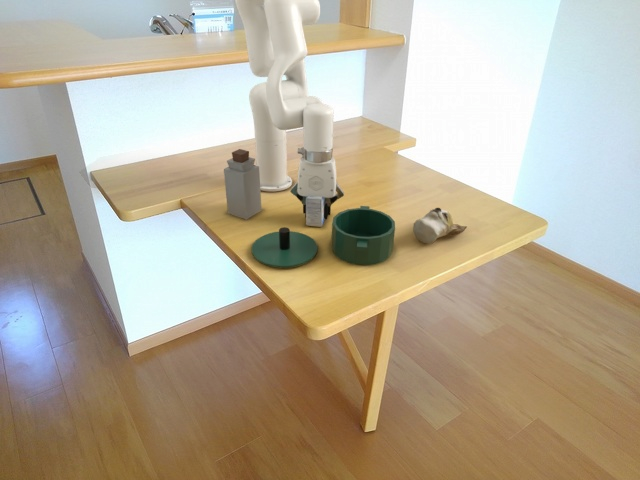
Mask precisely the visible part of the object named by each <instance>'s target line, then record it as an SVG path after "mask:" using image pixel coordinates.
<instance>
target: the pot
mask: <svg viewBox="0 0 640 480" xmlns="http://www.w3.org/2000/svg"><path fill="white" fill-rule="evenodd" d="M359 206H360V207H355V208H347V209H345V210H342V211H340V212H338V213H337V214H335V215H334V217H333V218H332V222H331V251H332V253H333V254H334V256H335V257H336V258H338V259H339V260H340V261H343V262H346V263H348V264H352V265H357V266H373V265H378V264H382V263H383V262H385V261H387V260H388V259H389V258H390V257H391V256H392V253H393V250H394V244H395V243H394V242H395V233H396V221H395V220H394V218H392V217H391V215H388V214H387V213H385V212H383V211H381V210H378V209H373V208H370V206H368V205H359Z"/></svg>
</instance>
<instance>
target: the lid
mask: <svg viewBox="0 0 640 480" xmlns="http://www.w3.org/2000/svg"><path fill="white" fill-rule="evenodd" d="M317 254H318V244H317V242H316V240H315V239H314V238H312V236H311V237H310V235H307V234H305V233H302V232H300V231H292V230H290V228H289V227H286V226H284V227H283V226H282V227H280V228H279V229H278V231H274V232H268V233H266V234H264V235H262V236H260V237H258V238H257V239H256V240H255V241H254V242H253V244H252V246H251V255H252V256H253V257H254V259H255V260H256V261H257V262H259V263H261V264H263V265H265V266H269V267H272V268H278V269H287V268H295V267H300V266H302V265H305V264H307V263H309V262H310V261H312V260H313V259H314V258H315V257H316V255H317Z"/></svg>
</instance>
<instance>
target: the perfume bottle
mask: <svg viewBox="0 0 640 480" xmlns="http://www.w3.org/2000/svg"><path fill="white" fill-rule="evenodd" d="M231 156H232V158H230V159H228V160H226V163H227V165H228V166H227V167H225V168H223V174H224V175H223V177H224V186H225V198H226V207H227V214H228V215H232V216H235V217H238V218H240V219H243V220H248V219H250V218H252V217H253V216H255V215H256V214H258V213H259V212H262V195H261V190H260V173H259V166H257V165H256V164H255V163H256V158H253V157H250V151H249V150H246V149H242V148H238V149H235V150H234V151H232V152H231Z"/></svg>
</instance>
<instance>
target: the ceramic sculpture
mask: <svg viewBox="0 0 640 480" xmlns="http://www.w3.org/2000/svg"><path fill="white" fill-rule="evenodd" d="M467 228H468V226H467V225H461V224H457V223H453V217H452V214H451V213H450V212H449V211H447V210H445V209H443V208H441V207H435V208H433V209H430V211H429V212H428V213H426V214H425V215H424V216H423V217H422V218H418V219H417V220H415V222H414V223H413V234H414V236H415V238H416V239H418V241H419V242H421V243H422V244H428V245H432V244H433V243H435V242H436V240H437V239H438V238H442V237H446V236H458V235H460V234H462V233H464V232H465V230H466V229H467Z"/></svg>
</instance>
